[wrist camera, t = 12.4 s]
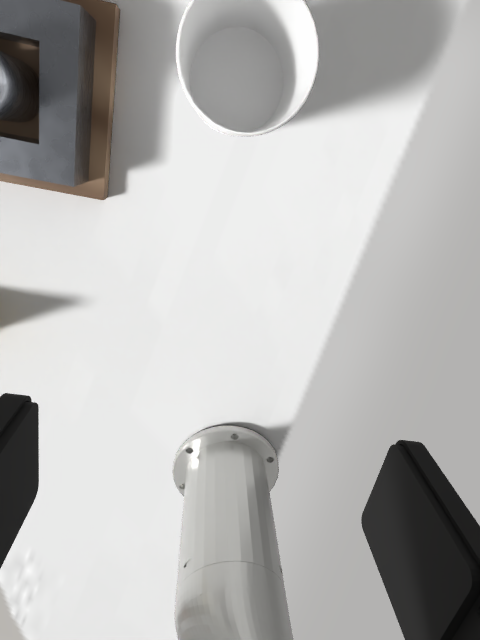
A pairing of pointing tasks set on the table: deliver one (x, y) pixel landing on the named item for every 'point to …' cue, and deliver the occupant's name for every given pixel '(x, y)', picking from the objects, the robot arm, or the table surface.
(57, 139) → the socket block
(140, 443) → the table surface
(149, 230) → the table surface
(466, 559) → the robot arm
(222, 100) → the mug
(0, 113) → the steel peg
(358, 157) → the table surface
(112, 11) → the dock board
